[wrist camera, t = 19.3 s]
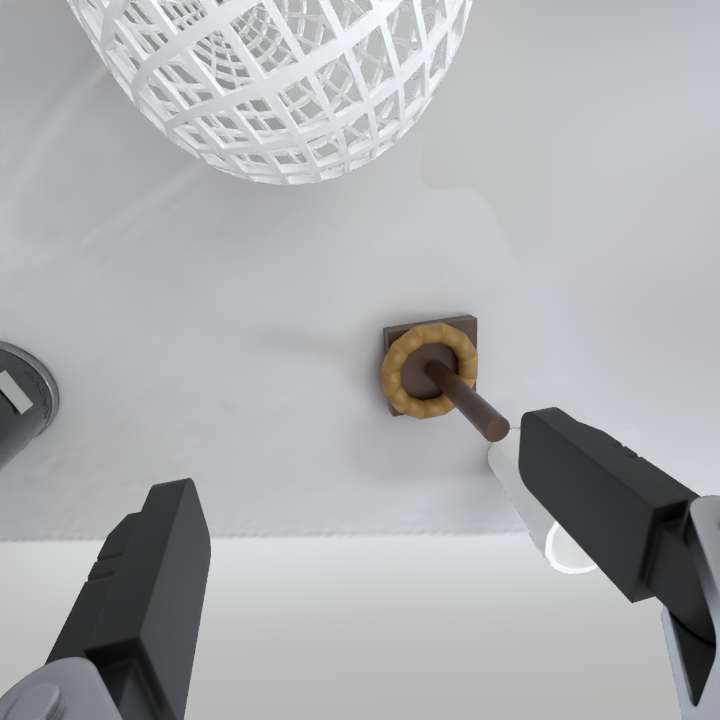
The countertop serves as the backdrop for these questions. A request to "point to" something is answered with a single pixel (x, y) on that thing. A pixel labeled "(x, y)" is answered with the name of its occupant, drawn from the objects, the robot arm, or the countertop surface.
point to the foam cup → (535, 510)
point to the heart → (275, 78)
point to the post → (446, 377)
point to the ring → (410, 344)
